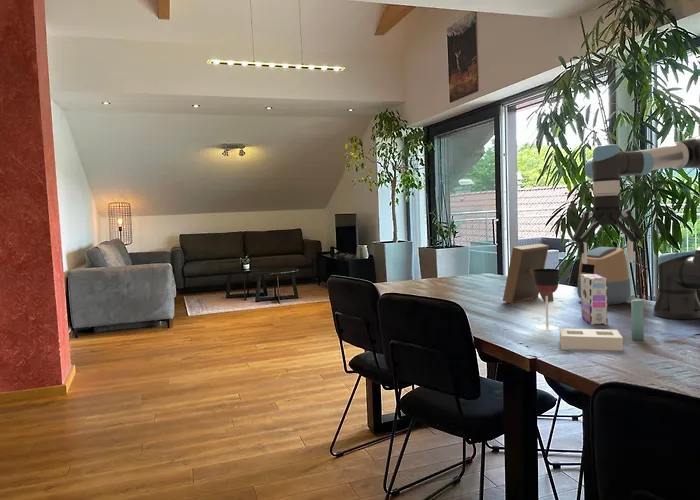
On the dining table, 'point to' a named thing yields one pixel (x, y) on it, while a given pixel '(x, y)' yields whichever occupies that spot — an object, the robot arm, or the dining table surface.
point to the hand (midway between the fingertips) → (607, 263)
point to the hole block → (591, 339)
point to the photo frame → (525, 273)
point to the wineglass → (546, 288)
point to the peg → (637, 320)
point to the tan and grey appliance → (608, 272)
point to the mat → (646, 341)
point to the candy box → (594, 299)
